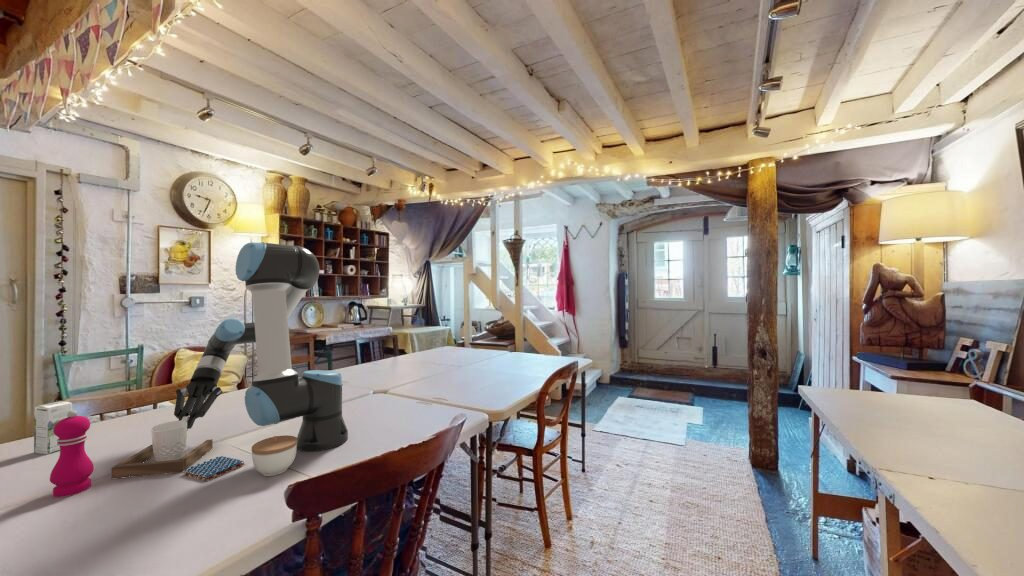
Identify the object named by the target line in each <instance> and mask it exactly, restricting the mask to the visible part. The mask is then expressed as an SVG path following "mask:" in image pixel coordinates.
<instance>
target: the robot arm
mask: <svg viewBox="0 0 1024 576" xmlns="http://www.w3.org/2000/svg"><path fill="white" fill-rule="evenodd" d="M320 271H321V270H320V264H319V261H318V258H317V257H316V256H315V254H314V253H313V252H311V251H310V249H307V248H305V247H302V246H300V245H290V244H289V245H288V244H279V243H269V242H265V241H264V242H254V241H253V242H248V243H245V244H244V245H243V246H242V247H241V248H240V250H239V252H238V255H237V257H236V262H235V275H236V277H237V280H239V281H241V282H245V283H244V285H245V289H246V290H248V291H249V292H250V293H251V295H252V307H253V308H252V309H253V319H254V320H253V321H254V322H243V321H241V320H240V319H235V318H227V319H224V320H223V321H221V322H220V324H219V325H218V326H217V327H216V329H215V332H214V333H213V334H212V335H211V336H210V338H209V340H208V341H207V345H206V346H205V349H204V351H203V353H202V356H201V358H200V360H199V361H198V364H197V365H196V368H195V370H194V371H193V374H192V376H191V377H190V381H189V383H188V384H187V385H186V386H185V388H182V389H180V388H178V389H176V390H175V393H176V399H175V401H176V402H175V406H174V412H173V415H174V417H175V418H176V419H177V421H186V422H187V432H188V431H189V430H190V429H192V428H193V426H194V423H195V421H196V419H198V418H204V417H205V415H206V413H208V411H209V409H210V408H211V407H212V406H213V404H214V403H215V401H216V400H217V398H218V397H219V396H221V394H223V390H222V388H221V387H220V386H218V385H217V384H218V383H219V380H220V378H221V376H222V375H221V374H222V373H223V371H224V368H225V366H226V364H227V361H228V358H229V356H230V355H231V353H232V351H233V349H235V347H236V345H244V344H253V343H255V347H256V348H255V350H256V363H257V375H255V377H254V378H253V379H252V386H249V387H248V388H247V389H246V390H245V391H244V392H245V393H244V394H245V395H244V404H245V405H244V406H245V410H246V412H247V414H248V417H249V419H251V421H252V422H253V423H254V424H255V425H257V426H260V427H265V426H270V425H277V424H279V423H282V422H285V421H289V420H293V419H297V418H300V417H302V422H301V424H300V427H299V431H298V433H297V436H296V438H297V449H299V450H300V451H305V452H316V451H317V452H318V451H323V450H329V449H332V448H336V447H337V446H340V445H343V444H344V443H346V441H348V439H349V430H348V428H347V425H346V422H345V419H344V416H343V376H342V374H341V373H340V372H338V371H335V370H324V369H323V370H322V369H313V370H305V371H303V372H302V373H301V377H299V373H298V372H297V371H296V370H294V369H293V368H292V367H293V366H292V356H291V355H292V354H291V343H290V331H289V321H288V320H289V318H290V316H291V315H292V314H293V312H294V310H295V309H296V308H297V306H298V304H299V303H300V301H301V300H302V298H303V297H304V295H305V294H306V292H307V291H309V290H311V289H312V288H314V287H315V284H316V283H317V281H318V279H319V276H320ZM187 393H188V395H187ZM186 396H187V399H186ZM185 400H186V401H185Z"/></svg>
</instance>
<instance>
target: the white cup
mask: <svg viewBox="0 0 1024 576" xmlns="http://www.w3.org/2000/svg"><path fill="white" fill-rule="evenodd" d="M150 432H151V445H152V446H153V453H154V456H153V458H154V459H153V462H155V461H166V460H177V459H181V458H182V457H183V456H185V455H186V454H187V453H186V448H187V439H188V435H187V434H188V431H187V422H186V421H178V420H172V421H168V422H167V421H166V422H163V423H159V424H158V425H155V426H153V427H151V429H150Z"/></svg>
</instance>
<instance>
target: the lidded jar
mask: <svg viewBox="0 0 1024 576" xmlns="http://www.w3.org/2000/svg"><path fill="white" fill-rule="evenodd" d="M297 449H298V448H297V436H294V435H275V436H272V437H268V438H267V437H266V438H263V439H262V440H258V441H257V442H255V443H254V444H253V445H252V446H251V458H252V464H253V466H254V468H255V469H256V471H257V472H259V473H260V474H261V475H262V476H263V477H273V476H278V475H280V474H283V473H285V472H286V471H287V470H288V469H289V467H291V466H292V464H293V463H294V461H295V458H296V455H297Z"/></svg>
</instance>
